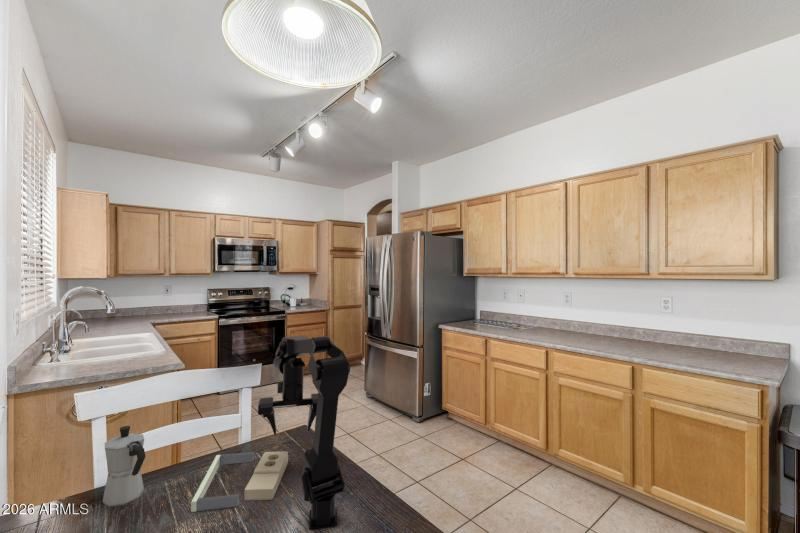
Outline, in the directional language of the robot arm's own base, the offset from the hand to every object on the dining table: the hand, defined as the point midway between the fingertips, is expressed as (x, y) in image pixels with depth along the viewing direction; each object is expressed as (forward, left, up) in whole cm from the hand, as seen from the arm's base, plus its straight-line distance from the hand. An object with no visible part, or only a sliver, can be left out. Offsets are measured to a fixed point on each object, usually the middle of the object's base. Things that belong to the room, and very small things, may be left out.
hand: (291, 432), depth 107 cm
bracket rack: (-1, +17, -12) cm, 21 cm away
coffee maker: (-3, +41, -12) cm, 43 cm away
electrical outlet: (-2, +6, -13) cm, 14 cm away
